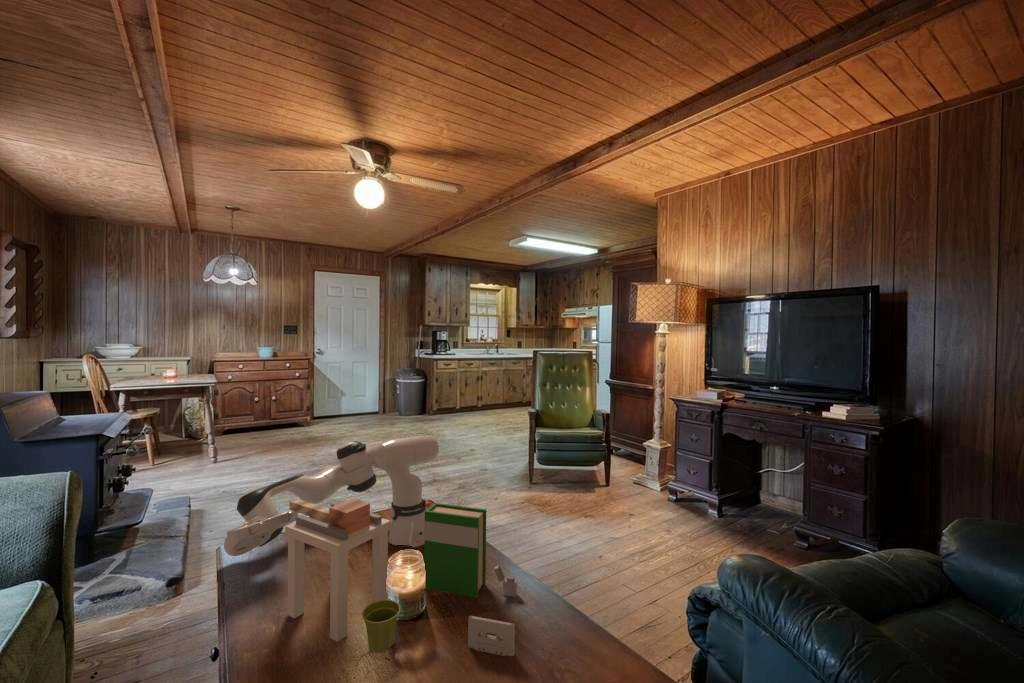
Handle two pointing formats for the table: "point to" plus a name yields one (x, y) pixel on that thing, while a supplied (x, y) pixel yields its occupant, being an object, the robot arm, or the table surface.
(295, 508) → the mallet
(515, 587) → the lighter
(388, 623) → the plant pot
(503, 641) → the cassette
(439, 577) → the hardback book
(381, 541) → the stand
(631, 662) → the table surface
